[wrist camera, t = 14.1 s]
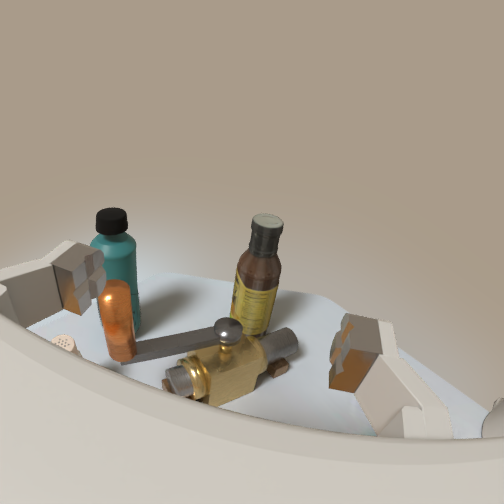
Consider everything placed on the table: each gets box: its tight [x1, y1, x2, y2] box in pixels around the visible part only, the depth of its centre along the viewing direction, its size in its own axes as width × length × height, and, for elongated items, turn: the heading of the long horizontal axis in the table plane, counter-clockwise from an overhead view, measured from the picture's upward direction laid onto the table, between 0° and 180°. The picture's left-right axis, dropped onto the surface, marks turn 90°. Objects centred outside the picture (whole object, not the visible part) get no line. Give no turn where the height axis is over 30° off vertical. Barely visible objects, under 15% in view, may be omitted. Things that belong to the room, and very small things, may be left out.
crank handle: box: [98, 279, 243, 365], centre depth 31 cm, size 15×3×9 cm, turn 118°
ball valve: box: [162, 327, 298, 407], centre depth 39 cm, size 18×6×10 cm, turn 124°
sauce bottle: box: [230, 214, 284, 338], centre depth 46 cm, size 6×6×20 cm
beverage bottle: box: [90, 208, 141, 332], centre depth 41 cm, size 6×7×20 cm
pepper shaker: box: [51, 334, 83, 358], centre depth 32 cm, size 4×4×10 cm
